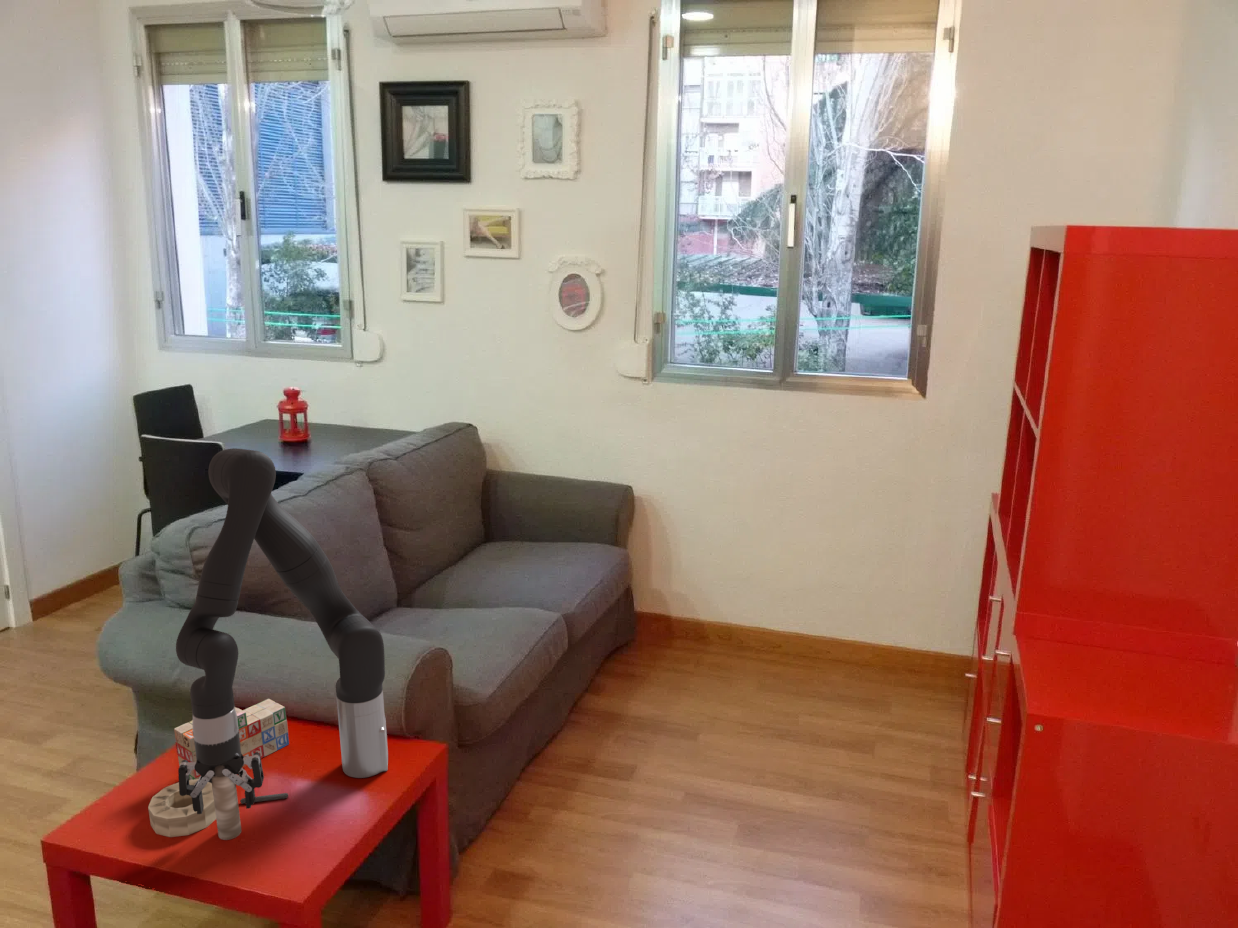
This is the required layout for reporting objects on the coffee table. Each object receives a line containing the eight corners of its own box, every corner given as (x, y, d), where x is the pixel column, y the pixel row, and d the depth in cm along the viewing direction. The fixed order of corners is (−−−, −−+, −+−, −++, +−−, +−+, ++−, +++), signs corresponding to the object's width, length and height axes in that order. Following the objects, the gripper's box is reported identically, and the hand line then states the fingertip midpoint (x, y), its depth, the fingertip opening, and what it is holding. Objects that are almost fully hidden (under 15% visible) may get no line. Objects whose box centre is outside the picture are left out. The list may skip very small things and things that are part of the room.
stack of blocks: (273, 735, 208) (267, 685, 204) (289, 744, 204) (284, 694, 201) (180, 780, 191) (173, 727, 188) (196, 792, 188) (189, 737, 184)
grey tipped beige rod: (243, 824, 178) (234, 753, 174) (239, 838, 174) (230, 765, 170) (220, 827, 177) (211, 756, 173) (216, 840, 173) (207, 768, 169)
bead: (225, 793, 187) (223, 775, 186) (213, 831, 176) (211, 813, 175) (160, 801, 185) (158, 783, 183) (144, 840, 173) (141, 821, 172)
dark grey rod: (288, 795, 186) (288, 791, 186) (288, 798, 185) (287, 794, 185) (241, 801, 185) (240, 797, 184) (240, 804, 184) (239, 800, 183)
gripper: (260, 716, 175) (268, 792, 179) (179, 724, 172) (188, 801, 176) (254, 738, 168) (262, 816, 172) (169, 746, 165) (179, 826, 169)
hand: (225, 808), depth 174 cm, fingers open, 8 cm apart
